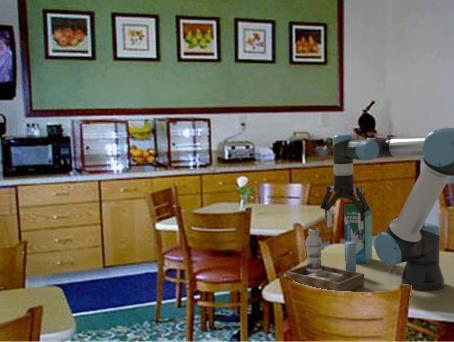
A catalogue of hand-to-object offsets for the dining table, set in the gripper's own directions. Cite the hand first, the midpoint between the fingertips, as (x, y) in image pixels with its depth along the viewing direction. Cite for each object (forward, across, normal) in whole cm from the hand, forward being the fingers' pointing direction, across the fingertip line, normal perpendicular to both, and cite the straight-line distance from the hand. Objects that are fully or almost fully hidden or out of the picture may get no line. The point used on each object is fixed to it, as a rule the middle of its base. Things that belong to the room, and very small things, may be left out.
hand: (345, 228), depth 229 cm
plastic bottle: (+19, +8, +12) cm, 24 cm away
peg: (+19, -1, -1) cm, 19 cm away
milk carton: (+19, +6, -24) cm, 31 cm away
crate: (+19, 0, +17) cm, 25 cm away
